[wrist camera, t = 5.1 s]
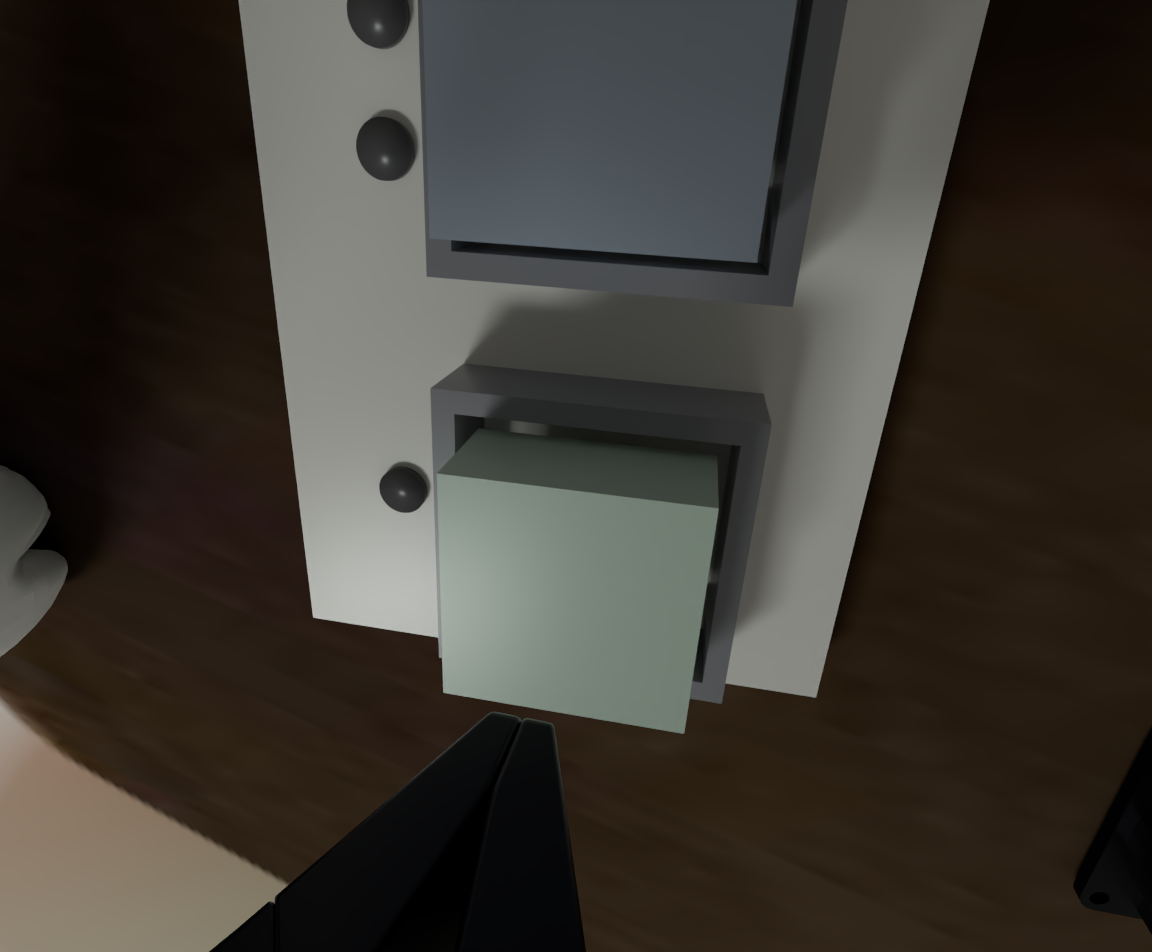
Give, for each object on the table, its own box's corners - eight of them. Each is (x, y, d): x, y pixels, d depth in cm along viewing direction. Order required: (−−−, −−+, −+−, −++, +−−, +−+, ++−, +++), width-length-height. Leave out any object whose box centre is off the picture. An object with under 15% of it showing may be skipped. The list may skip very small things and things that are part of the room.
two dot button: (747, 248, 12) (757, 263, 10) (478, 228, 13) (429, 238, 11) (799, -103, 10) (826, -184, 8) (476, -104, 11) (416, -179, 9)
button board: (808, 661, 19) (828, 759, 16) (338, 589, 21) (270, 664, 18) (1237, -1153, 8) (1588, -2037, 5) (182, -954, 10) (-66, -1490, 7)
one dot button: (687, 655, 16) (684, 733, 14) (479, 623, 17) (443, 692, 14) (717, 455, 14) (719, 508, 12) (479, 428, 15) (436, 473, 12)
